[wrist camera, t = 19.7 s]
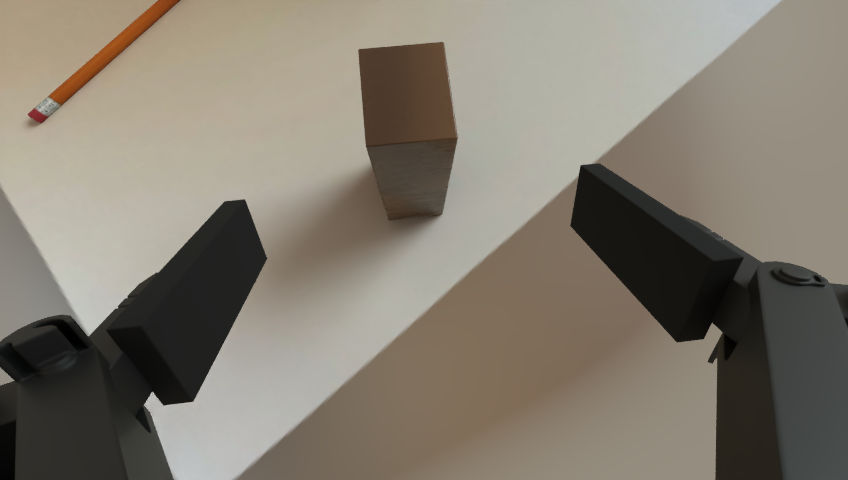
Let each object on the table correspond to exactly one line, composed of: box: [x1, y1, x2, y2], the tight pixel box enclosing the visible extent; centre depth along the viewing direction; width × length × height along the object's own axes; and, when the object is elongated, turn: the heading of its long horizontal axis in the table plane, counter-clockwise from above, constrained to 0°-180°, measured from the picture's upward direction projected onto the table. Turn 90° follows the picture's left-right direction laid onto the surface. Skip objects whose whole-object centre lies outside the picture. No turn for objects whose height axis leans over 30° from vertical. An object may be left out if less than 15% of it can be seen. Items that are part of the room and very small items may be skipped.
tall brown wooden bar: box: [358, 42, 458, 220], centre depth 21 cm, size 4×5×11 cm
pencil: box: [28, 0, 179, 123], centre depth 29 cm, size 1×19×1 cm, turn 143°
